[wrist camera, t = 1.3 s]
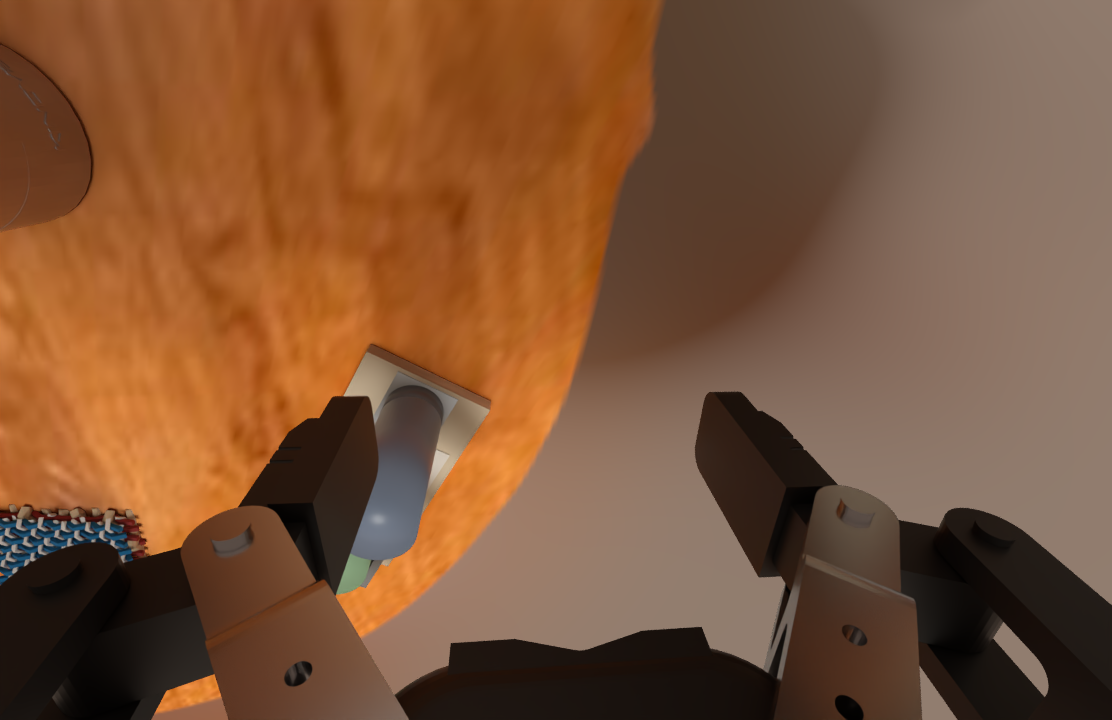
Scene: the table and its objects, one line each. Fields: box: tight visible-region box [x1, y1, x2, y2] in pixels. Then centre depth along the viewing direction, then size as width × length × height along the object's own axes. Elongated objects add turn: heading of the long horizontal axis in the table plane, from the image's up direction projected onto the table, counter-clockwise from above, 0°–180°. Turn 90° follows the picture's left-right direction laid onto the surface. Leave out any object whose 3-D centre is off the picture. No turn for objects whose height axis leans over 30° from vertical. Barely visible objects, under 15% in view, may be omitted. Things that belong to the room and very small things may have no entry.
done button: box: [336, 553, 371, 594], centre depth 35 cm, size 5×5×3 cm
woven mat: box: [0, 504, 147, 585], centre depth 38 cm, size 10×11×2 cm
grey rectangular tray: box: [344, 344, 491, 588], centre depth 35 cm, size 17×9×4 cm, turn 148°
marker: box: [351, 385, 444, 560], centre depth 29 cm, size 4×4×11 cm
